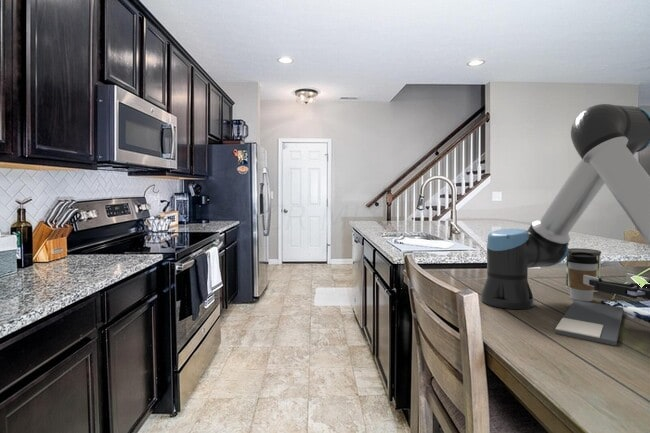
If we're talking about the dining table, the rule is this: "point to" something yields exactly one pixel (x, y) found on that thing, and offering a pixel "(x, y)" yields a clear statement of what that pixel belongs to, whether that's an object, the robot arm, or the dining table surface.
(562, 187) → the robot arm
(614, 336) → the mat
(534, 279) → the dining table surface
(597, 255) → the coffee can
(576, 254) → the coffee cup
